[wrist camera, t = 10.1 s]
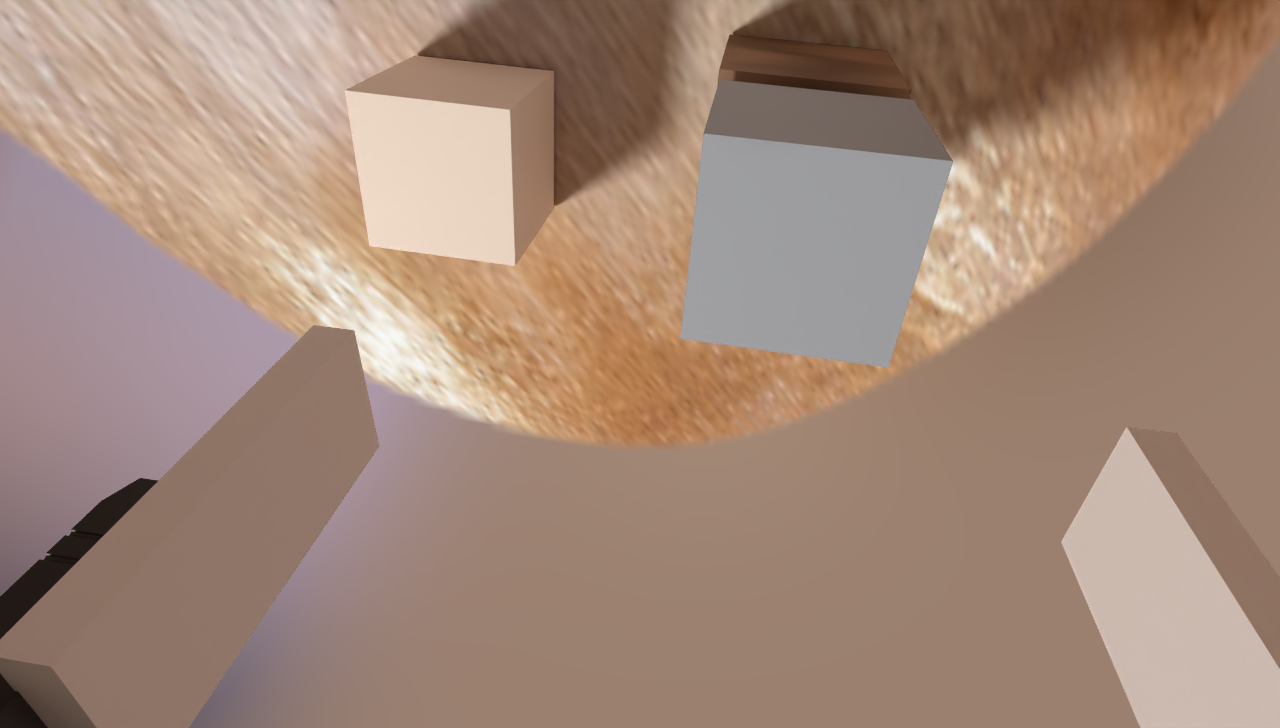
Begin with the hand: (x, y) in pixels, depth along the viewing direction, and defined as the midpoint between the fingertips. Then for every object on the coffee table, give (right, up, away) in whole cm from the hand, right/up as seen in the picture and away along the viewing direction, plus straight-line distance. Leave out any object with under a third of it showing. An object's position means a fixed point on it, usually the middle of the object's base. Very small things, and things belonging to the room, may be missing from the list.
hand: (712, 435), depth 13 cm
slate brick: (+4, +7, +11) cm, 14 cm away
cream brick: (-8, +11, +19) cm, 23 cm away
